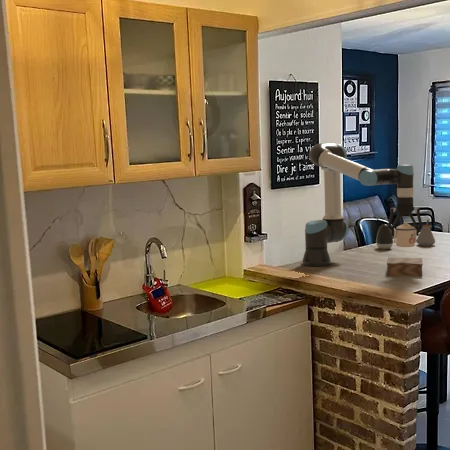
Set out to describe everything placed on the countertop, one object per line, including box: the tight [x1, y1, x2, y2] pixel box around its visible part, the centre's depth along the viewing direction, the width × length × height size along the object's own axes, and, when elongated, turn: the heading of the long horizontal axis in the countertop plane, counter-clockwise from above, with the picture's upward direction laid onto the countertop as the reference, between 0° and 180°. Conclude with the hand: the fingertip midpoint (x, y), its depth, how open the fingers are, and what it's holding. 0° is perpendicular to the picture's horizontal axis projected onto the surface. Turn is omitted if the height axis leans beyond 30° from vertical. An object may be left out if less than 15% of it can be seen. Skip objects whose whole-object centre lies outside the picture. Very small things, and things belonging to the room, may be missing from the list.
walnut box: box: [386, 256, 424, 277], centre depth 289 cm, size 16×16×6 cm
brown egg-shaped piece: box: [375, 223, 394, 250], centre depth 361 cm, size 10×10×15 cm
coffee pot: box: [416, 218, 436, 247], centre depth 373 cm, size 21×12×15 cm, turn 156°
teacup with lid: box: [395, 221, 416, 248], centre depth 286 cm, size 12×9×12 cm
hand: (404, 242), depth 287 cm, fingers closed on teacup with lid, 9 cm apart
